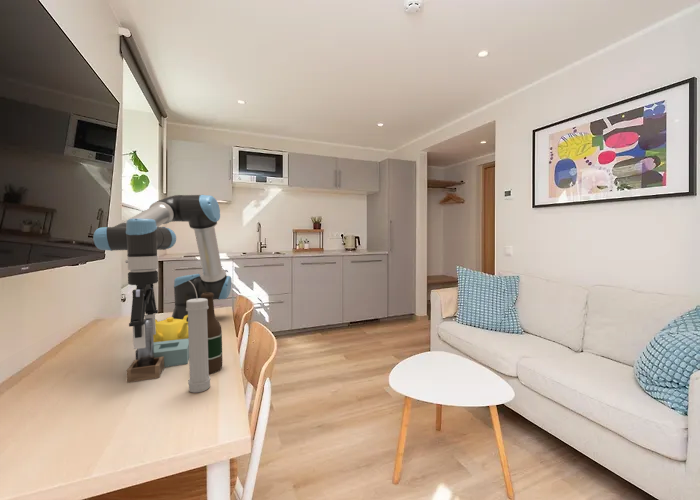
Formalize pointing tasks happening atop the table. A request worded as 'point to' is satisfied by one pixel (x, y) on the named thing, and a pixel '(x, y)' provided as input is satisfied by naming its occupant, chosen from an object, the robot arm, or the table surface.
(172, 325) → the teapot
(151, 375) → the brown wooden tray
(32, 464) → the table surface
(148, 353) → the cylinder
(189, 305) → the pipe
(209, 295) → the beer bottle
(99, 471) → the table surface
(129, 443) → the table surface
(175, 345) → the chuck block
